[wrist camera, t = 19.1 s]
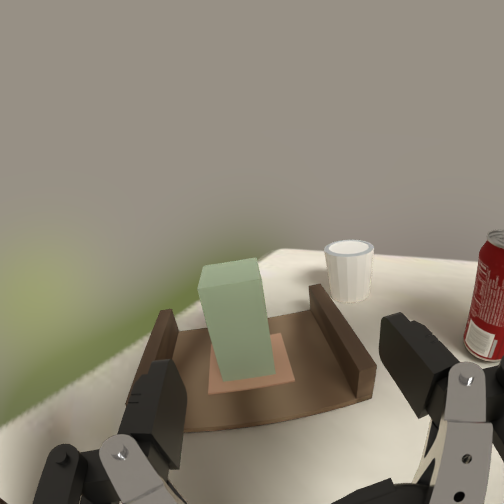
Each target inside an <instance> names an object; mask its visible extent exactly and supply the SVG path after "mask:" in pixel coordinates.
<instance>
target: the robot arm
mask: <svg viewBox="0 0 504 504" xmlns="http://www.w3.org/2000/svg"><path fill="white" fill-rule="evenodd" d="M379 355H380V359H381V361H382V363H383V364H384V366H385V367H386V369H387V370H388V372H389V373H390V375H391V377H392V378H393V380H394V381H395V383H396V384H397V386H398V387H399V389H400V390H401V392H402V393H403V395H404V397H405V398H406V400H407V401H408V403H409V404H410V406H411V408H412V409H413V411H414V412H415V414H416V416H417V417H418V419H419V418H422V417H424V416H426V415H428V414H429V416H430V417H431V421H430V423H429V428H428V433H427V437H426V442H425V446H424V450H423V454H422V458H421V461H420V464H419V467H418V469H417V472H416V474H415V476H414V479H413V481H412V483H400V484H393V482H392V480H391V478H389V479H386V480H383V481H381V482H378V483H375V484H373V485H370V486H367V487H364V488H361V489H358V490H356V491H354V492H352V493H351V494H349V495H347V496H345V497H343V498H341V499H339V500H337V501H335V502H333V503H331V504H484V500H485V495H486V490H487V484H488V477H489V470H490V462H491V451H492V443H493V445H494V446H495V448H496V450H497V451H498V453H499V455H500V456H501V458H502V460H503V462H504V355H503V357H502V359H501V361H500V364H499V365H498V366H494V367H490V368H485V369H482V368H481V367H479V366H478V365H477V364H474V363H471V362H459V361H458V359H457V358H456V357H455V356H454V355H453V354H452V353H451V352H450V351H449V350H448V349H447V348H446V347H445V346H444V345H443V344H442V343H441V342H440V341H438V339H437V338H436V337H435V336H434V335H432V332H431V331H430V330H429V329H428V328H427V327H426V326H424V325H422V324H420V323H418V322H416V321H411V322H410V321H409V320H408V319H407V317H406V316H405V315H404V314H403V313H401V312H398V313H395V314H392V315H389V316H385V317H383V318H382V320H381V328H380V340H379ZM186 408H187V392H186V388H185V385H184V383H183V381H182V379H181V376H180V374H179V372H178V370H177V367H176V365H175V363H174V361H173V360H172V359H166V360H155V361H152V362H151V365H150V368H149V371H148V374H142V375H141V376H140V378H139V379H138V380H137V381H136V382H135V383H134V386H133V389H132V392H131V396H130V397H129V400H128V404H127V406H126V409H125V412H124V415H123V418H122V421H121V424H120V428H119V431H118V434H117V435H114V436H111V437H110V438H108V439H107V440H105V441H104V442H103V444H102V445H101V447H100V449H98V450H93V451H87V452H81V453H80V452H79V451H78V450H77V449H76V448H75V447H74V446H72V445H70V444H61V445H58V446H56V447H55V448H54V449H52V451H51V452H50V453H49V455H48V458H47V461H46V463H45V466H44V469H43V472H42V475H41V478H40V481H39V484H38V487H37V491H36V494H35V497H34V501H33V504H79V501H80V496H81V495H82V497H81V501H80V504H119V501H122V504H189V503H188V502H187V501H186V500H185V498H184V497H183V496H182V495H181V494H180V492H179V491H178V490H177V489H176V487H175V486H174V485H173V484H172V482H171V481H170V480H169V479H168V472H169V469H179V468H180V459H181V449H182V441H183V432H184V424H185V416H186Z"/></svg>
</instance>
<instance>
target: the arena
mask: <svg viewBox="0 0 504 504" xmlns="http://www.w3.org/2000/svg"><path fill="white" fill-rule="evenodd" d="M309 297H310V310H307V311H302V312H297V313H292V314H287V315H282V316H277V317H271V318H267V319H268V325H269V332H270V335H272V334H277V333H281V335H282V338H283V342H284V345H285V348H286V352H287V355H288V358H289V362H290V365H291V368H292V372H293V375H294V378H295V381H294V382H289V383H284V384H279V385H273V386H268V387H262V388H256V389H249V390H242V391H235V392H228V393H219V394H210V395H209V394H208V385H209V369H210V354H211V344H212V342H211V338H210V335H209V331H208V328H202V329H195V330H187V331H179V330H178V327H177V324H176V321H175V318H174V315H173V312H172V309H168V310H161V311H160V313H159V315H158V318H157V320H156V323H155V326H154V328H153V330H152V333H151V335H150V338H149V340H148V343H147V346H146V348H145V351H144V353H143V356H142V359H141V361H140V364H139V367H138V369H137V372H136V375H135V378H134V380H133V383H132V386H131V389H130V392H129V395H128V397H127V400H126V403H125V405H126V406H127V404H128V400H129V397H130V396H131V392H132V389H133V386H134V383H135V382H136V381H137V380H138V379H139V378H140V376H141V375H142V374H148V371H149V368H150V365H151V362H152V361H155V360H166V359H172V360H173V361H174V363H175V365H176V367H177V370H178V372H179V374H180V376H181V379H182V381H183V383H184V385H185V388H186V392H187V408H186V416H185V424H184V432H203V431H216V430H226V429H235V428H244V427H251V426H258V425H264V424H270V423H276V422H282V421H287V420H292V419H297V418H302V417H306V416H311V415H315V414H319V413H323V412H327V411H331V410H335V409H338V408H342V407H345V406H349V405H352V404H355V403H359V402H362V401H365V400H368V399H371V398H372V394H373V388H374V382H375V376H376V369H377V365H376V364H375V362H374V361H373V359H372V358H371V356H370V355H369V353H368V352H367V350H366V349H365V347H364V346H363V344H362V343H361V341H360V340H359V338H358V337H357V335H356V334H355V332H354V331H353V330H352V328H351V327H350V325H349V324H348V322H347V321H346V319H345V318H344V317H343V315H342V314H341V312H340V311H339V309H338V308H337V307H336V305H335V304H334V302H333V301H332V299H331V298H330V297H329V295H328V294H327V292H326V291H325V290H324V288H323V287H322V285H321V284H317V285H312V286H309ZM184 432H183V433H184Z"/></svg>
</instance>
